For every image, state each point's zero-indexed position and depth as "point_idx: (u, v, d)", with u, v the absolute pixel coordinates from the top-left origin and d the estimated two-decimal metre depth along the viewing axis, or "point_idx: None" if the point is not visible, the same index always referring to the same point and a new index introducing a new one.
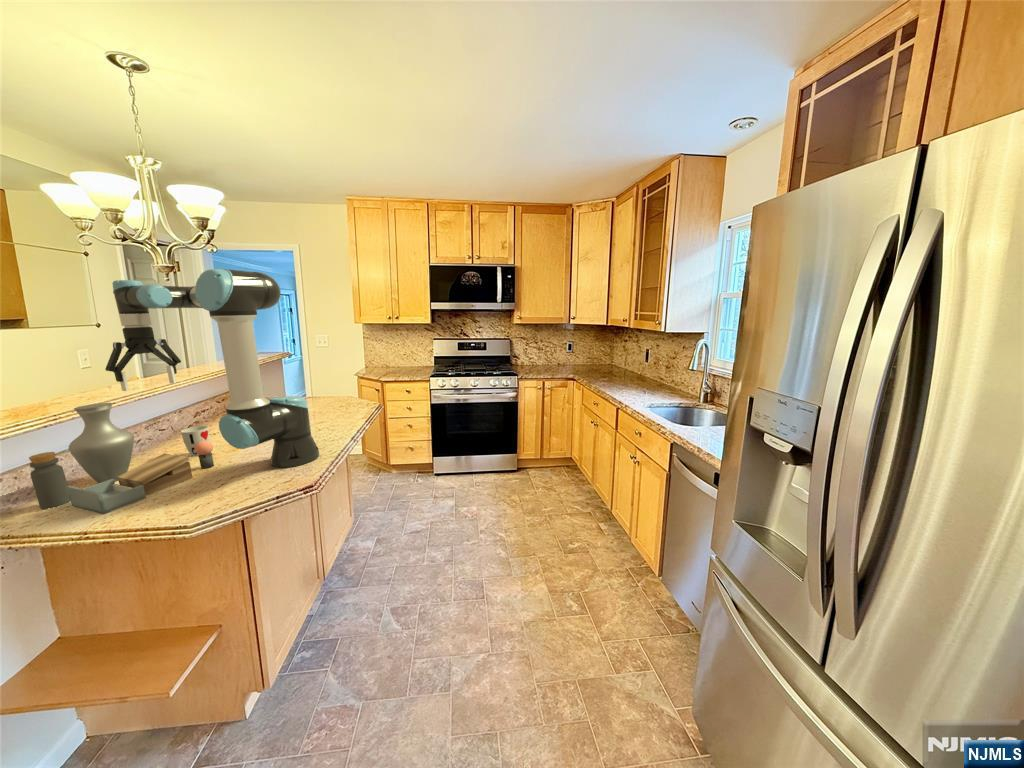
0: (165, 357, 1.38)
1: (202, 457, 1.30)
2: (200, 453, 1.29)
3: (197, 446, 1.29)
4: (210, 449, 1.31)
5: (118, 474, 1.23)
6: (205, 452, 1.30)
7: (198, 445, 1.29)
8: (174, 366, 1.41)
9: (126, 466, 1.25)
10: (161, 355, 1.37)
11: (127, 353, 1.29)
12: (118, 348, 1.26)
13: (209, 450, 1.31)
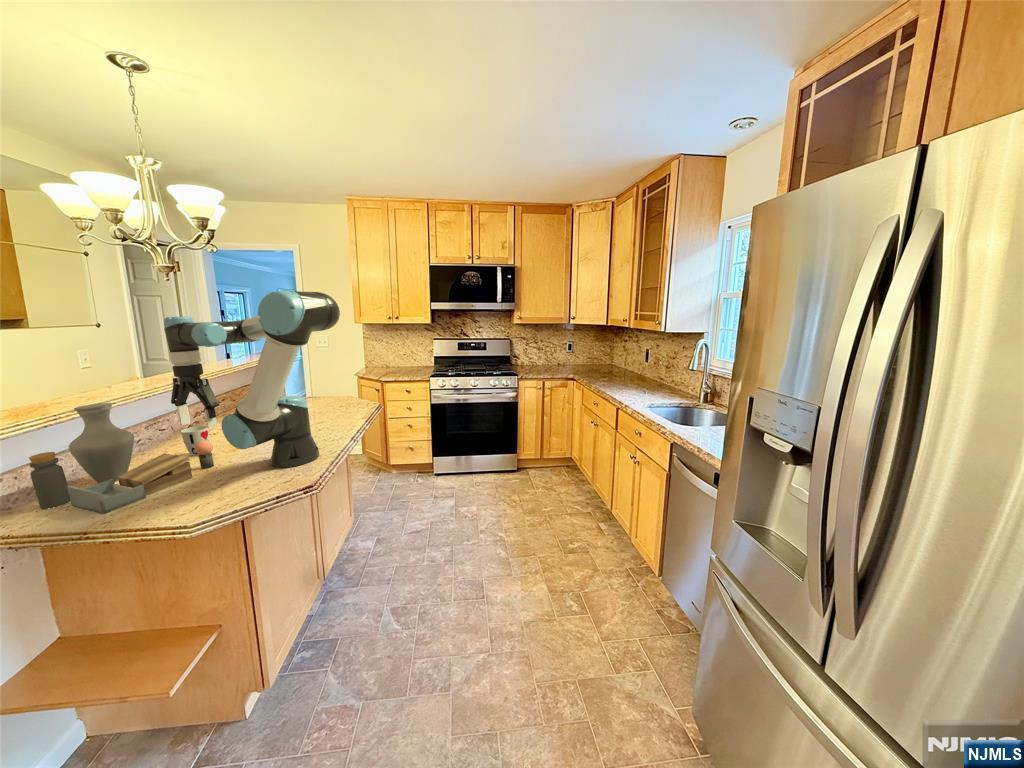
0: (200, 399, 1.25)
1: (202, 457, 1.30)
2: (200, 453, 1.29)
3: (197, 446, 1.29)
4: (210, 449, 1.31)
5: (118, 474, 1.23)
6: (205, 452, 1.30)
7: (198, 445, 1.29)
8: (209, 410, 1.25)
9: (126, 466, 1.25)
10: (198, 396, 1.25)
11: None
12: (173, 384, 1.28)
13: (209, 450, 1.31)
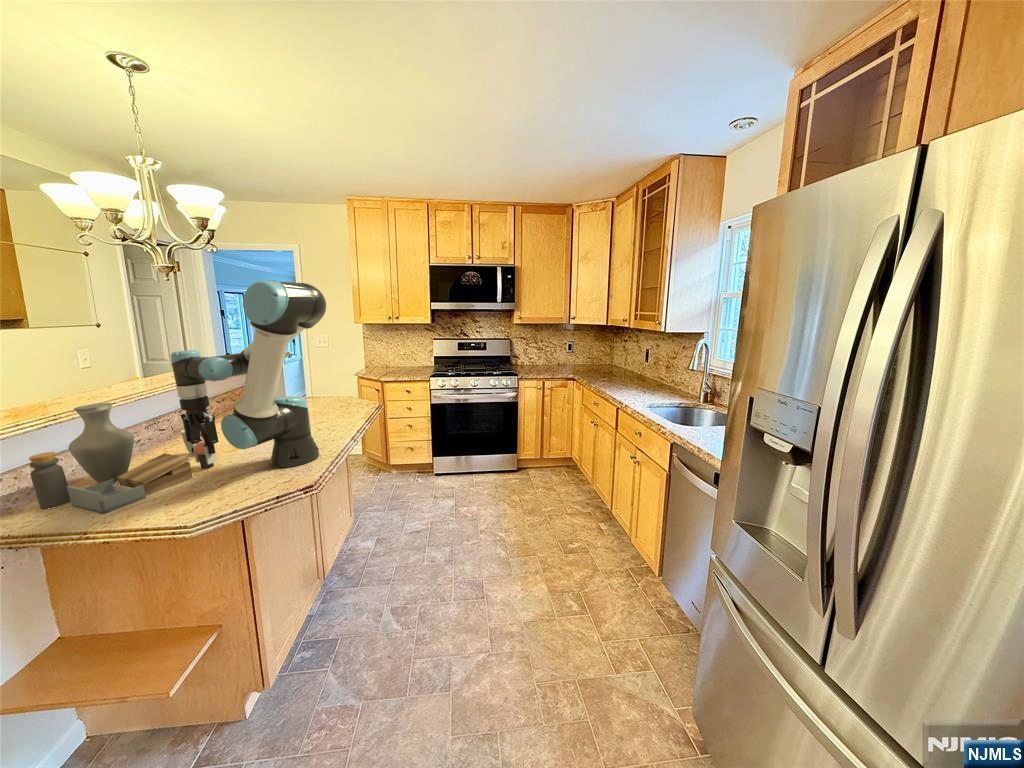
0: (202, 434, 1.28)
1: (202, 457, 1.30)
2: (200, 453, 1.29)
3: (197, 446, 1.29)
4: None
5: (118, 474, 1.23)
6: None
7: (198, 445, 1.29)
8: (209, 447, 1.29)
9: (126, 466, 1.25)
10: (201, 431, 1.28)
11: None
12: (183, 420, 1.30)
13: None
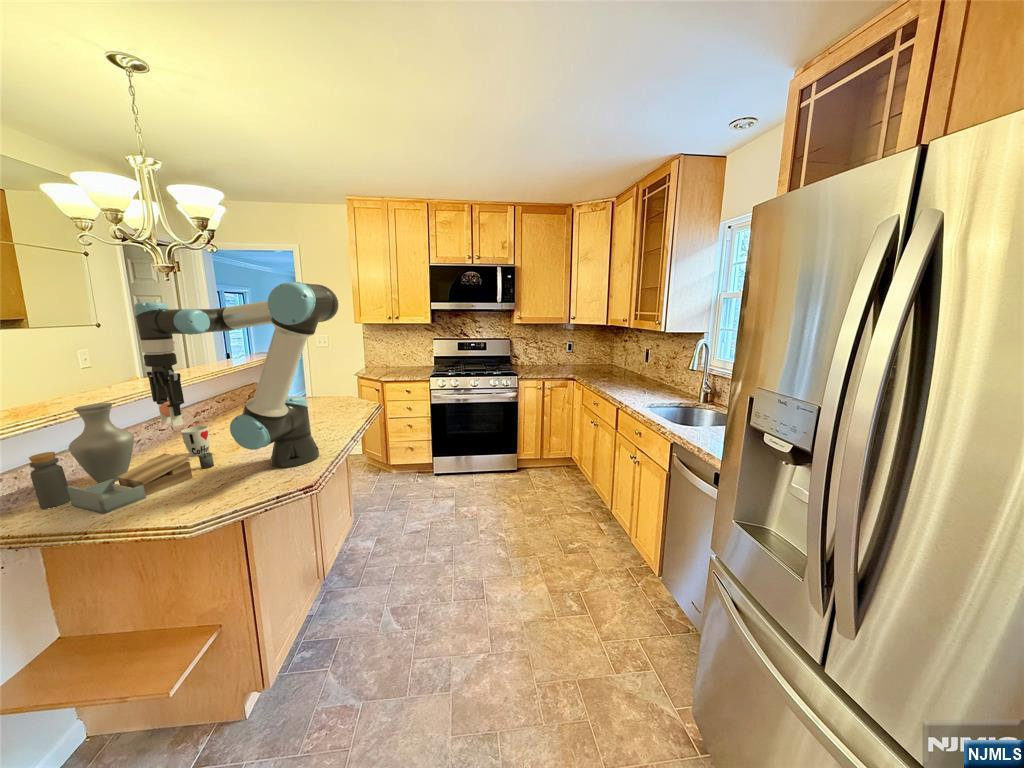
0: (167, 394, 1.19)
1: (202, 457, 1.30)
2: (165, 414, 1.21)
3: (162, 406, 1.20)
4: None
5: (118, 474, 1.23)
6: None
7: (163, 405, 1.21)
8: (174, 407, 1.20)
9: (126, 466, 1.25)
10: (166, 390, 1.19)
11: None
12: (149, 378, 1.22)
13: None
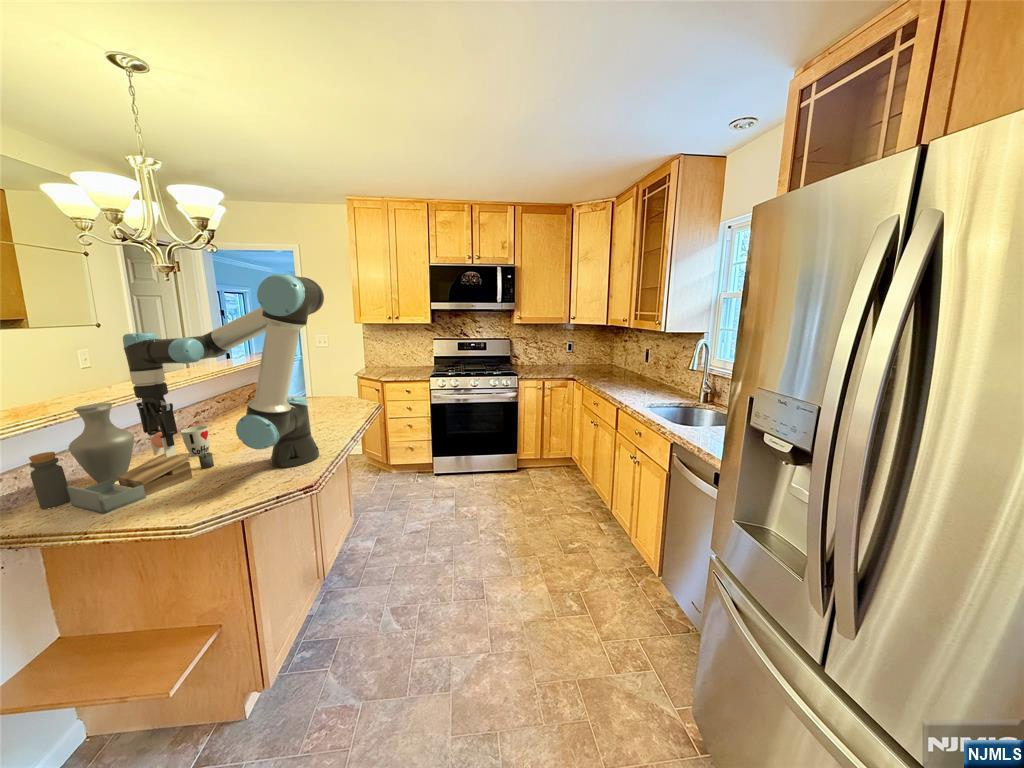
0: (160, 425, 1.17)
1: (202, 457, 1.30)
2: (157, 445, 1.19)
3: (154, 437, 1.18)
4: None
5: (118, 474, 1.23)
6: None
7: (155, 436, 1.18)
8: (167, 438, 1.18)
9: (126, 466, 1.25)
10: (158, 421, 1.17)
11: None
12: (139, 409, 1.19)
13: None
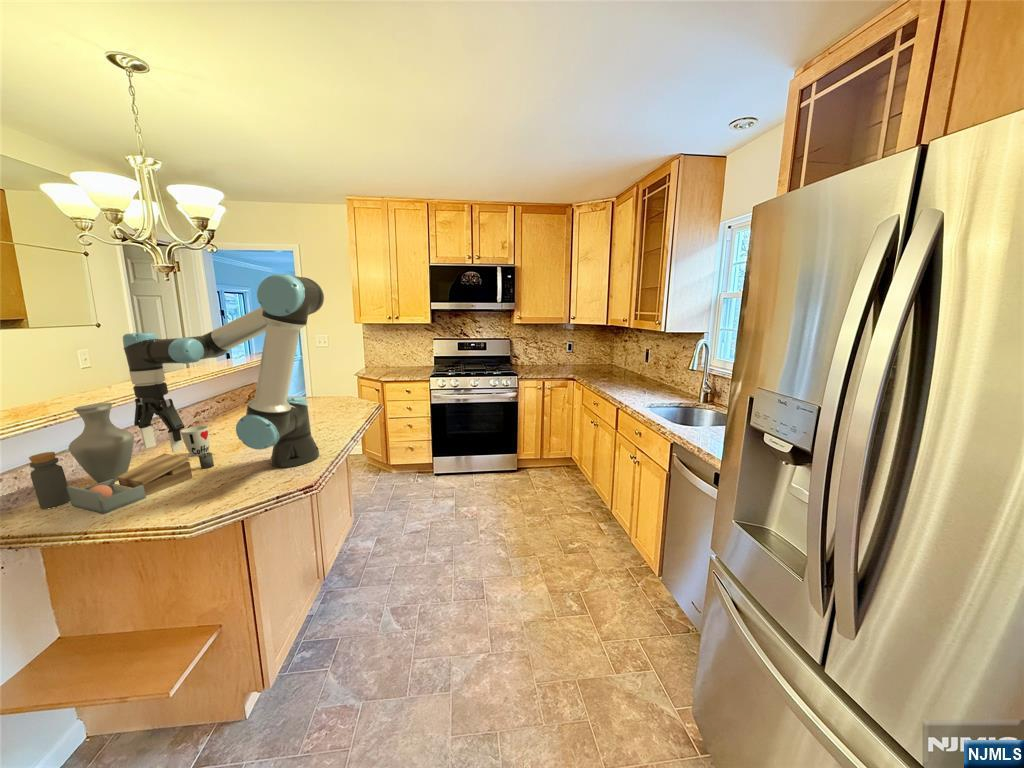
0: (164, 421, 1.16)
1: (202, 457, 1.30)
2: None
3: None
4: (108, 493, 1.07)
5: (118, 474, 1.23)
6: None
7: None
8: (174, 433, 1.17)
9: (126, 466, 1.25)
10: (161, 418, 1.16)
11: None
12: (136, 404, 1.19)
13: (107, 495, 1.07)
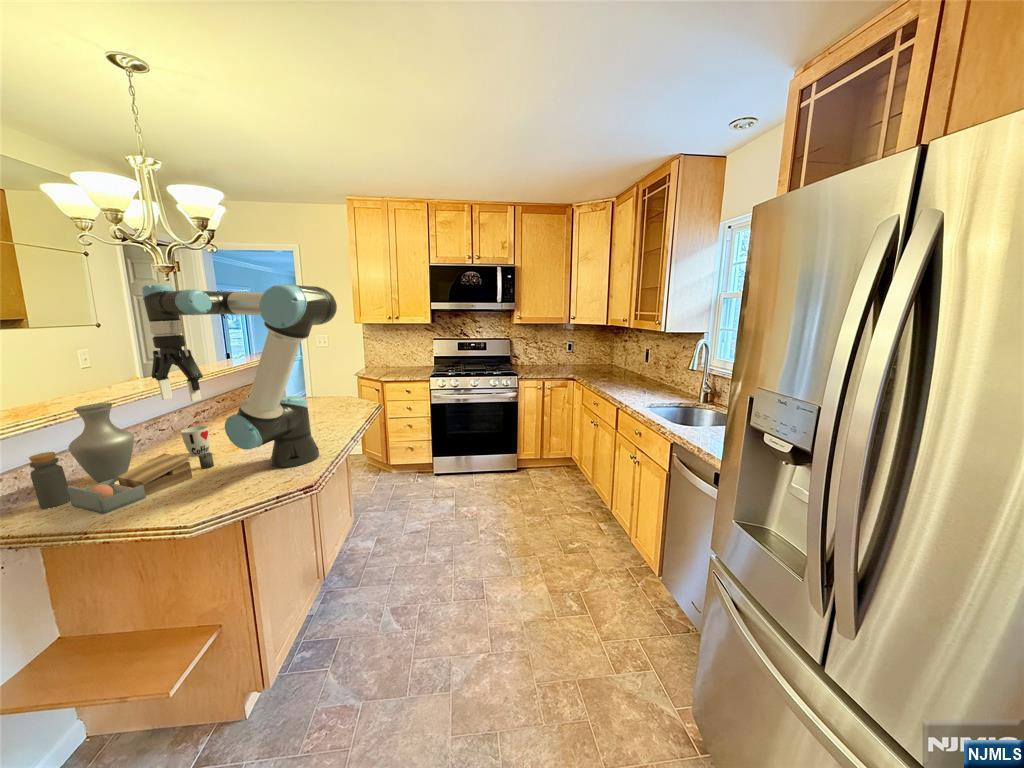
0: (183, 371, 1.21)
1: (202, 457, 1.30)
2: None
3: None
4: (109, 493, 1.07)
5: (118, 474, 1.23)
6: None
7: None
8: (192, 382, 1.21)
9: (126, 466, 1.25)
10: (180, 368, 1.21)
11: None
12: (154, 356, 1.24)
13: (108, 495, 1.07)
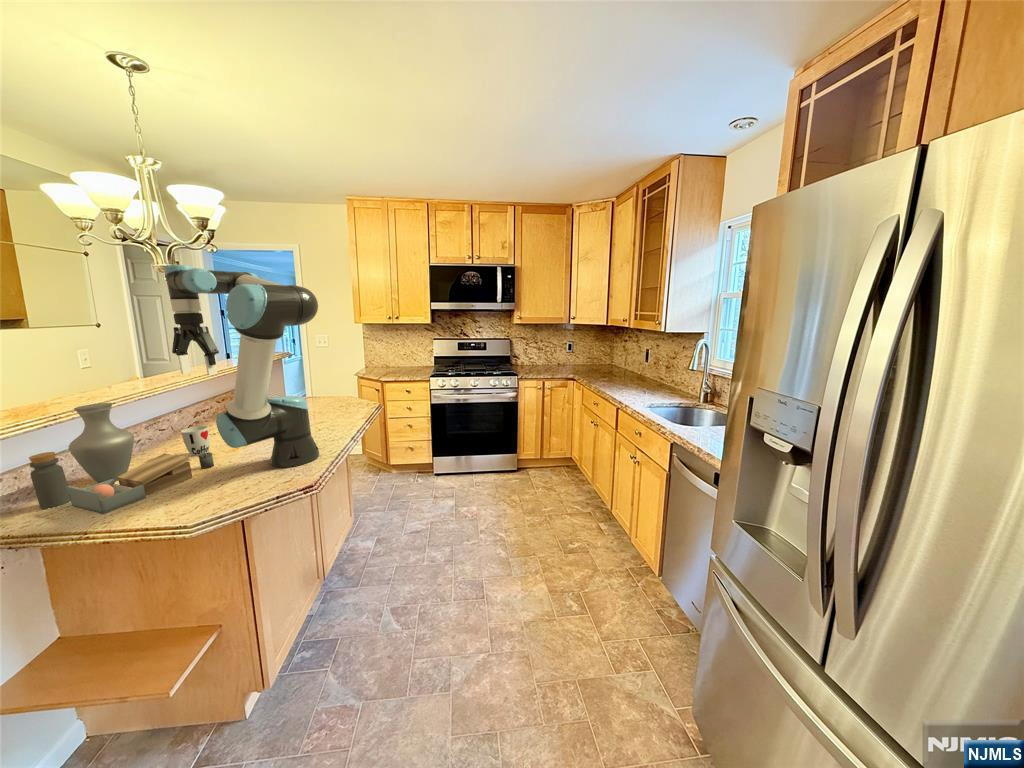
0: (201, 346, 1.29)
1: (202, 457, 1.30)
2: None
3: None
4: (110, 493, 1.07)
5: (118, 474, 1.23)
6: None
7: None
8: (209, 357, 1.29)
9: (126, 466, 1.25)
10: (198, 343, 1.29)
11: None
12: (174, 333, 1.32)
13: (109, 495, 1.07)
